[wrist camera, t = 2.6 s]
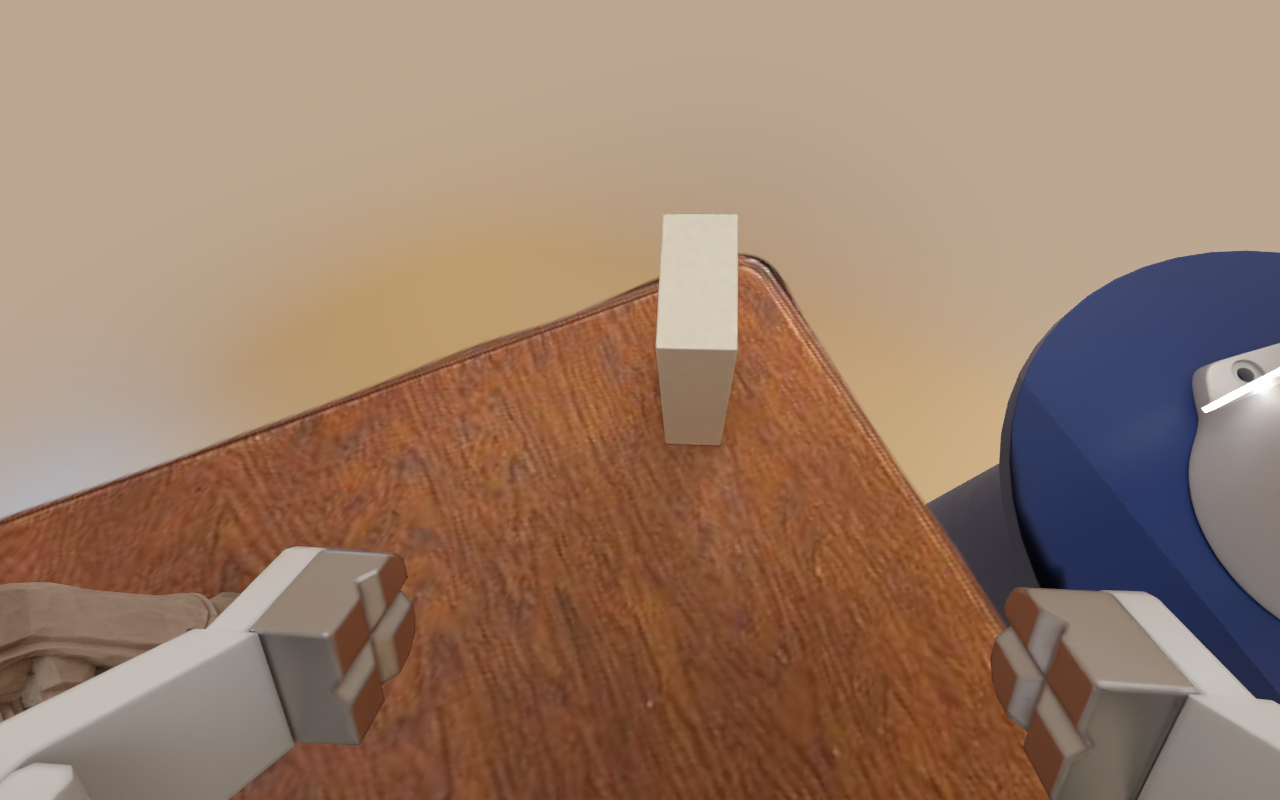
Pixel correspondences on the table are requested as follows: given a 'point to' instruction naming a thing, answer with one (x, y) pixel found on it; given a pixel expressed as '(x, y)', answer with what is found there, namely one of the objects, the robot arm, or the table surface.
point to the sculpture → (84, 634)
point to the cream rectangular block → (697, 324)
